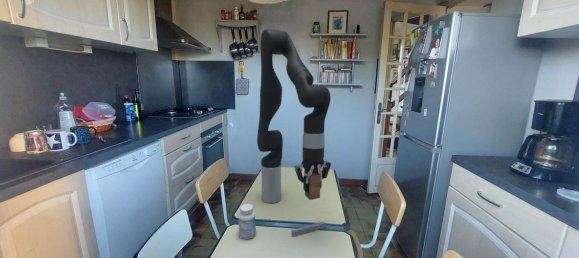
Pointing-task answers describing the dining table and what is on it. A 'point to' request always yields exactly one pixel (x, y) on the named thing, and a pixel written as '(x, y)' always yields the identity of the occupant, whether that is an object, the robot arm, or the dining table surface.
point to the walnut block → (314, 186)
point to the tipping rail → (308, 228)
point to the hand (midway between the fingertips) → (312, 190)
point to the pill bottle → (247, 222)
